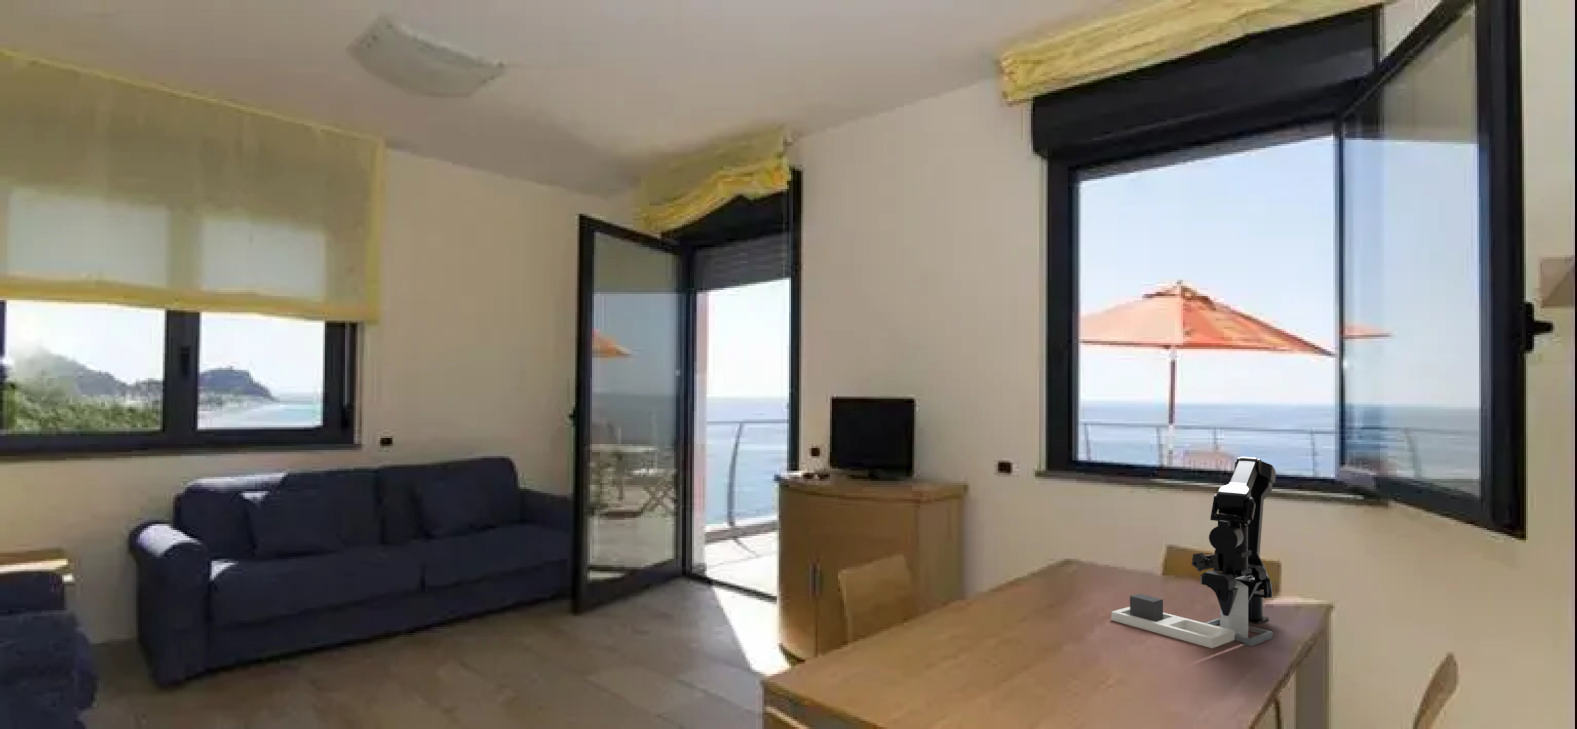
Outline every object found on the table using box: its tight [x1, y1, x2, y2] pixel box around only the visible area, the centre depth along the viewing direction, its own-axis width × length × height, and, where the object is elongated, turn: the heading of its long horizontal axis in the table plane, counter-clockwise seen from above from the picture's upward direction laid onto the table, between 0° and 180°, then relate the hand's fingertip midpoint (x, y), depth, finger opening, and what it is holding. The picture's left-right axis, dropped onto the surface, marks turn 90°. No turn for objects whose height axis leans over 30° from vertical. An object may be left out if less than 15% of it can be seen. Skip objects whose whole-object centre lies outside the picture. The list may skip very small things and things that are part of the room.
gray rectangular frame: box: [1205, 617, 1273, 647], centre depth 180 cm, size 10×12×2 cm
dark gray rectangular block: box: [1129, 593, 1164, 622], centre depth 187 cm, size 4×6×6 cm, turn 35°
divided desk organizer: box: [1110, 606, 1236, 649], centre depth 182 cm, size 10×24×2 cm, turn 35°
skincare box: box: [1219, 581, 1249, 638], centre depth 180 cm, size 6×4×12 cm
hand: (1233, 612), depth 180 cm, fingers closed on skincare box, 7 cm apart
